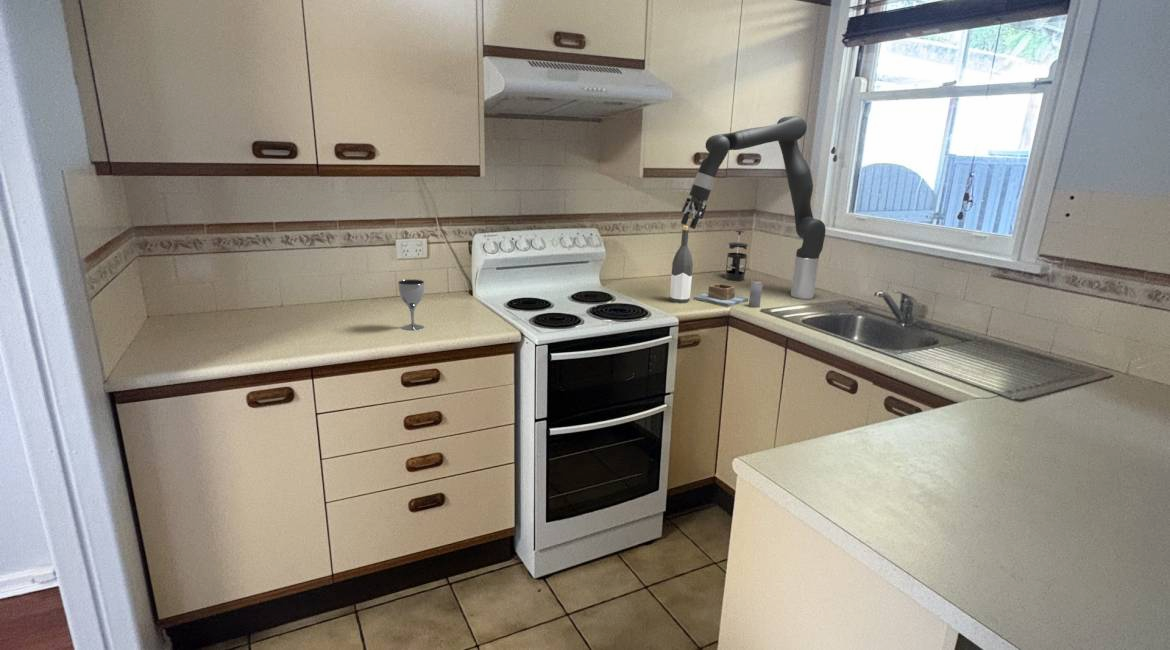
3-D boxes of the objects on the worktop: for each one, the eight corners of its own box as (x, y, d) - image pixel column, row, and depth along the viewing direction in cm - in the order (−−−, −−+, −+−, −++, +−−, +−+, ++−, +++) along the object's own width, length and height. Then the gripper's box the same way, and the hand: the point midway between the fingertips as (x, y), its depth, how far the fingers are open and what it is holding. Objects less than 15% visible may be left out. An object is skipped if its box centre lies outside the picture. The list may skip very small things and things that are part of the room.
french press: (746, 282, 294) (752, 232, 288) (726, 280, 295) (731, 231, 289) (742, 276, 306) (747, 229, 299) (722, 275, 306) (727, 228, 300)
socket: (714, 293, 268) (715, 280, 267) (748, 300, 258) (749, 287, 256) (693, 299, 257) (694, 285, 256) (727, 307, 247) (729, 292, 245)
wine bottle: (688, 298, 257) (694, 225, 249) (690, 303, 250) (697, 227, 241) (668, 297, 258) (674, 224, 249) (670, 302, 250) (676, 227, 241)
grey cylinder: (751, 304, 253) (754, 279, 250) (761, 306, 250) (764, 281, 247) (746, 305, 250) (749, 281, 247) (756, 308, 247) (759, 283, 244)
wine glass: (395, 326, 204) (393, 281, 200) (416, 322, 210) (415, 278, 206) (408, 332, 199) (407, 285, 195) (430, 327, 205) (429, 282, 200)
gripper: (718, 191, 241) (703, 232, 245) (702, 187, 254) (688, 225, 258) (702, 185, 238) (686, 226, 242) (686, 181, 251) (672, 220, 255)
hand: (687, 226), depth 250 cm, fingers open, 8 cm apart
